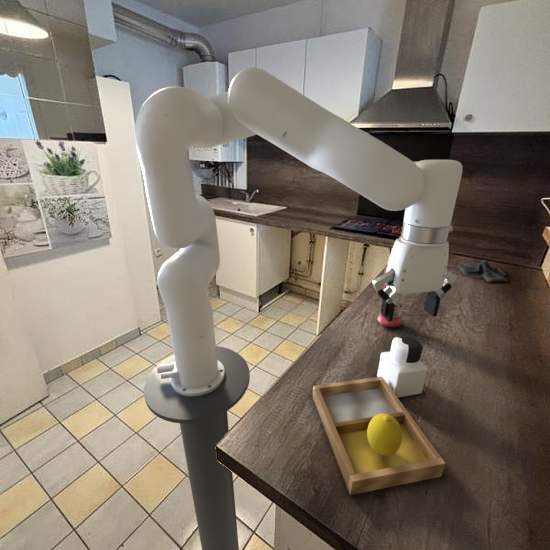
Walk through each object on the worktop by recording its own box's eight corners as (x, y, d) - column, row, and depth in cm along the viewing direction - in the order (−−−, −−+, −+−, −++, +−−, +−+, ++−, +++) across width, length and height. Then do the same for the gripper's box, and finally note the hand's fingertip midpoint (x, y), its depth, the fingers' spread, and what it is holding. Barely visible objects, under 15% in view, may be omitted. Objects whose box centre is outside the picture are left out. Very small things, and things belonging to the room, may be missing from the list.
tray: (350, 495, 45) (352, 481, 44) (312, 397, 63) (313, 385, 62) (441, 476, 48) (445, 463, 47) (379, 387, 66) (382, 376, 65)
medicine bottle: (402, 372, 71) (412, 330, 66) (422, 393, 64) (434, 349, 60) (376, 376, 69) (383, 334, 65) (393, 399, 63) (403, 354, 58)
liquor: (397, 318, 93) (414, 233, 82) (404, 331, 87) (422, 241, 76) (374, 317, 94) (387, 233, 83) (378, 329, 87) (393, 240, 77)
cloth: (503, 286, 116) (508, 272, 113) (452, 273, 128) (455, 260, 126) (514, 271, 130) (518, 258, 128) (467, 261, 142) (470, 249, 140)
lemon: (394, 472, 48) (403, 438, 44) (360, 456, 50) (366, 422, 47) (399, 445, 52) (408, 412, 49) (368, 431, 55) (374, 399, 51)
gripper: (451, 226, 57) (434, 303, 64) (369, 230, 54) (360, 310, 61) (483, 236, 50) (459, 320, 57) (391, 242, 48) (377, 330, 54)
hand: (408, 315), depth 59 cm, fingers open, 9 cm apart
